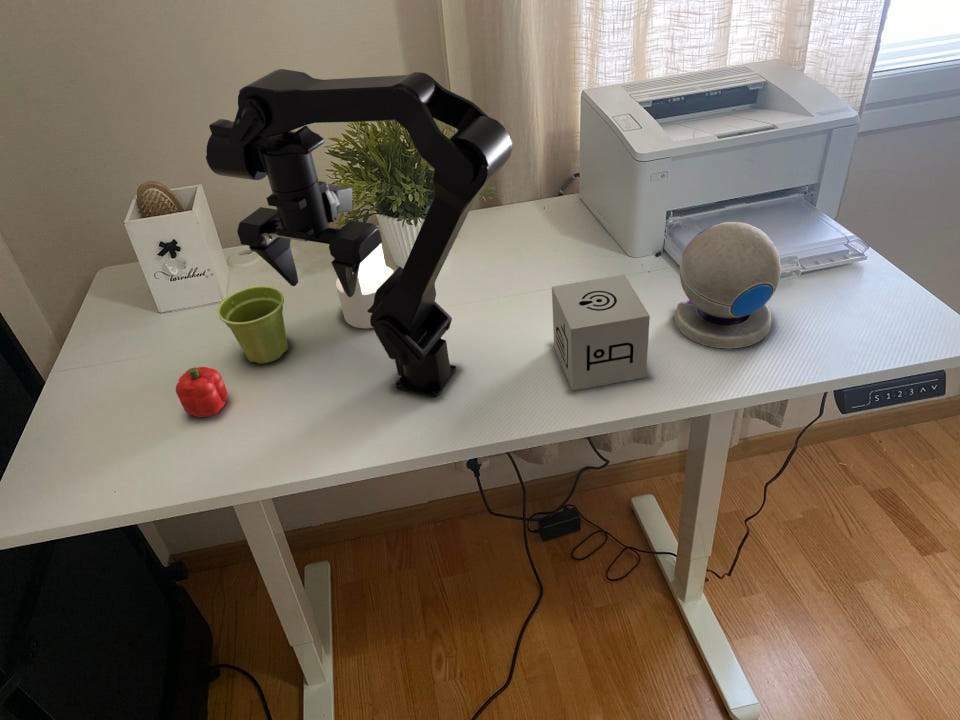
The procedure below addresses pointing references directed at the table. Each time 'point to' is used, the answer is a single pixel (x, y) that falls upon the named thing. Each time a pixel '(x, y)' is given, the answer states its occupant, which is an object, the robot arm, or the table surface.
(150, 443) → the table surface
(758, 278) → the webcam
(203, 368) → the pepper
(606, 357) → the icon cube
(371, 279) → the cylinder with rectangular tab
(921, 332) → the table surface
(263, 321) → the plant pot
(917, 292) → the table surface
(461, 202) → the robot arm
